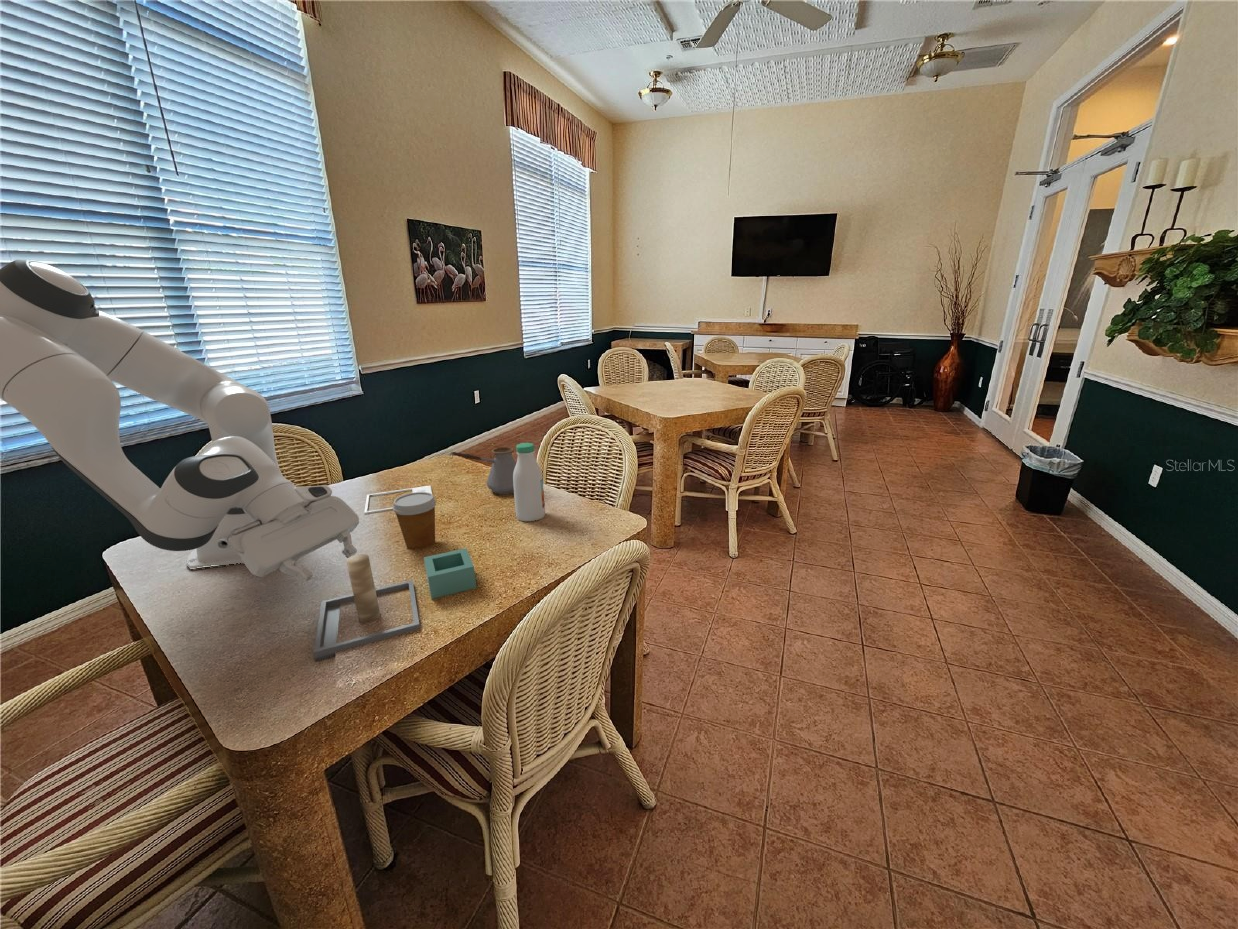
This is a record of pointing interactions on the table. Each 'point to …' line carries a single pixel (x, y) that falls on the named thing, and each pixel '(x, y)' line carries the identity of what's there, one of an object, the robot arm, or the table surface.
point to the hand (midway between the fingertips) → (331, 566)
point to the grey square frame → (328, 637)
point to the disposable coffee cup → (416, 518)
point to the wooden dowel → (363, 588)
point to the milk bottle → (528, 485)
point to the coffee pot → (498, 469)
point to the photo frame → (417, 489)
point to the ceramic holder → (450, 573)
